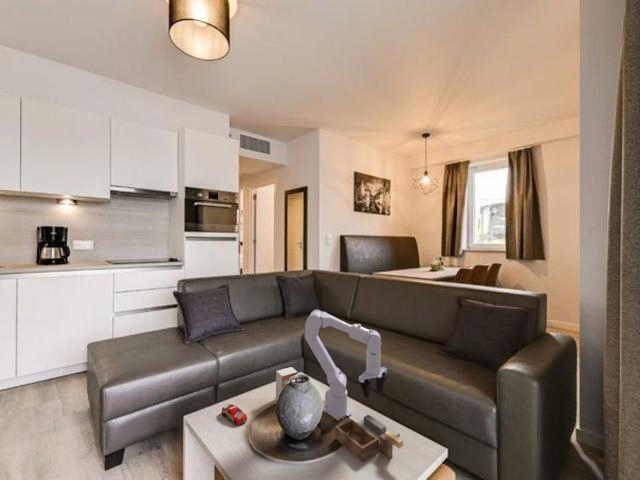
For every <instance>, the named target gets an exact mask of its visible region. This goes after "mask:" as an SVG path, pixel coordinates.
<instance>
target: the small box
mask: <svg viewBox="0 0 640 480" xmlns="http://www.w3.org/2000/svg"><path fill="white" fill-rule="evenodd" d="M296 374H298V375H299V371H297V370H296V369H295V368H294V367H292V366H290V367H287V368H286V367H285V368H282V369H278V370H276V371H275V400H277V398H278V396H279V393H280V392H281V390H282V389H283V387H284V386H285V385H286V384H287V383H288V381H289V378H290V377H291V376H294V375H296Z"/></svg>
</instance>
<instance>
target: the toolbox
mask: <svg viewBox="0 0 640 480" xmlns="http://www.w3.org/2000/svg"><path fill="white" fill-rule="evenodd" d="M334 428H335V429H334V437H335V438H336V439H338V440H339V441H341V442H342V443H343V445H344V446H343V445H342V446H343V447H344V448H346V449H347V450H348V451H349V452H350V453H351V454H352V455H353V456H355V457H356V458H357V459H358V460H359V461H360V462H362V463H363V462H365V461H367V460H368V459H369V458H371V457H372V456H374V455H376V454H378V453H380V454H381V455H382V456H384V457H385V458H386V459H387V460H390V459H391V458H393V446H394V445H393V444H392V443H390V442H389V441H387V440H386V439H385V434H382V435H381V436H380V446H379V439H378V438H377V437H376V436H374V435H373V434H371V433H370V432H369V431H367V430H366V429H365V428H363V427H362V426H360V425H359V424H358V423H357V421H355V420H353V419H352V418H349V419H348V420H346V421H344V422H342V423H340V424H338V425H336V426H335V427H334ZM349 431H350V432H349ZM347 432H349V435H348V434H346V433H347ZM335 438H334V439H335ZM336 439H335V440H336Z"/></svg>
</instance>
